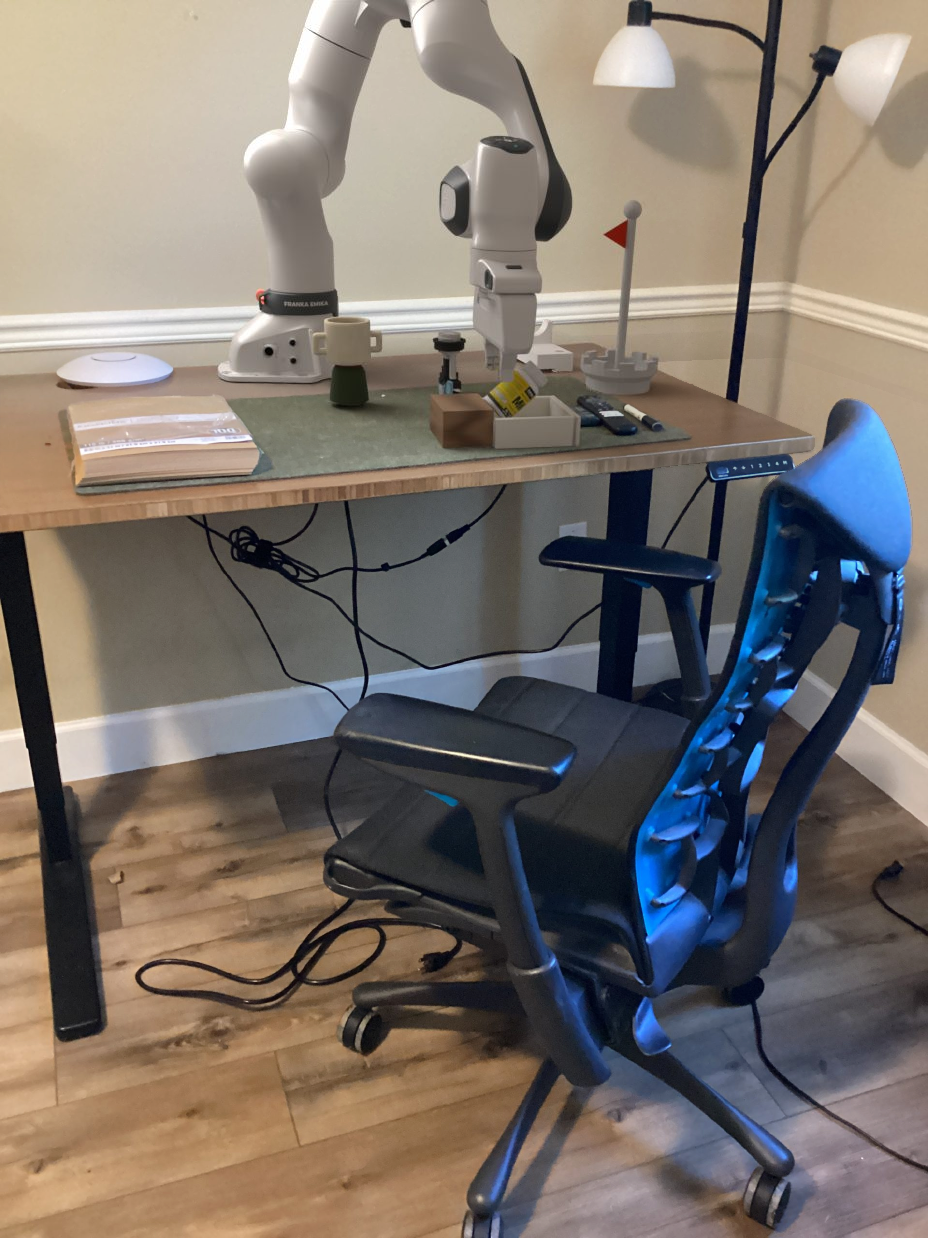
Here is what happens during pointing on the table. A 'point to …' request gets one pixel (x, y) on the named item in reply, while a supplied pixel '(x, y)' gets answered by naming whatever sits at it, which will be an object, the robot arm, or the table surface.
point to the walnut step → (461, 420)
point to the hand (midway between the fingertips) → (498, 375)
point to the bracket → (547, 351)
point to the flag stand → (621, 329)
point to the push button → (449, 361)
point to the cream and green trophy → (347, 356)
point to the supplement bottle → (516, 391)
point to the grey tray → (538, 425)
